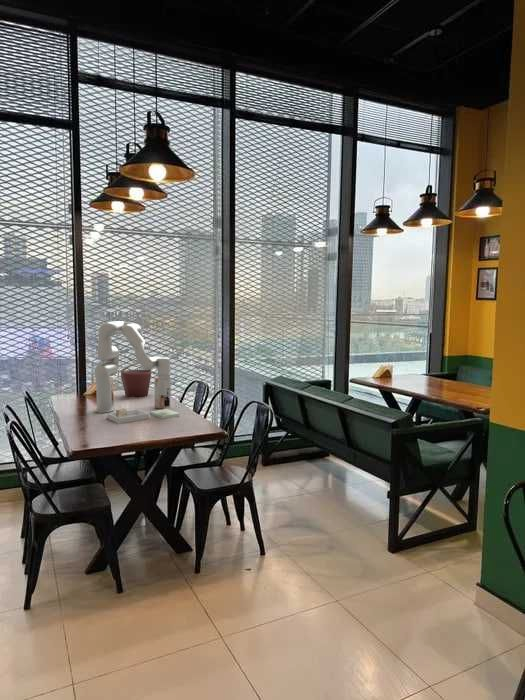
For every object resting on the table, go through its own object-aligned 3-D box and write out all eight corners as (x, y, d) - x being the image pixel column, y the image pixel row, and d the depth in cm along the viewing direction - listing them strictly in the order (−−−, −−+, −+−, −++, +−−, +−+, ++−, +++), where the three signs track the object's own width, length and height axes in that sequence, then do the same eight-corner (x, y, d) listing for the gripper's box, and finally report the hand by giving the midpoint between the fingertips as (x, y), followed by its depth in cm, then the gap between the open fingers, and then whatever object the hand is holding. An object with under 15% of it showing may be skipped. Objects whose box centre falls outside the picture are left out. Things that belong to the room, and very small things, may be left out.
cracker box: (162, 409, 333) (162, 378, 331) (154, 408, 334) (153, 377, 332) (170, 404, 346) (170, 375, 344) (162, 404, 348) (162, 374, 345)
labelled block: (159, 406, 315) (159, 397, 314) (166, 405, 318) (166, 396, 317) (163, 407, 311) (162, 398, 310) (170, 406, 314) (170, 397, 313)
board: (150, 414, 317) (150, 411, 317) (167, 411, 325) (167, 408, 324) (162, 419, 305) (162, 416, 305) (179, 416, 312) (179, 413, 312)
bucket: (151, 392, 393) (150, 360, 390) (156, 397, 373) (156, 364, 370) (119, 394, 383) (118, 362, 380) (123, 399, 363) (122, 365, 360)
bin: (107, 419, 305) (107, 413, 305) (138, 414, 317) (138, 409, 317) (118, 424, 293) (118, 418, 292) (149, 419, 305) (149, 413, 305)
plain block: (115, 419, 302) (115, 409, 302) (123, 418, 306) (123, 408, 305) (119, 420, 299) (119, 411, 298) (127, 419, 302) (126, 409, 301)
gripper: (152, 376, 316) (153, 404, 318) (165, 379, 303) (165, 408, 305) (163, 374, 321) (163, 402, 323) (176, 378, 308) (176, 406, 310)
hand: (164, 405), depth 314 cm, fingers closed on labelled block, 5 cm apart
